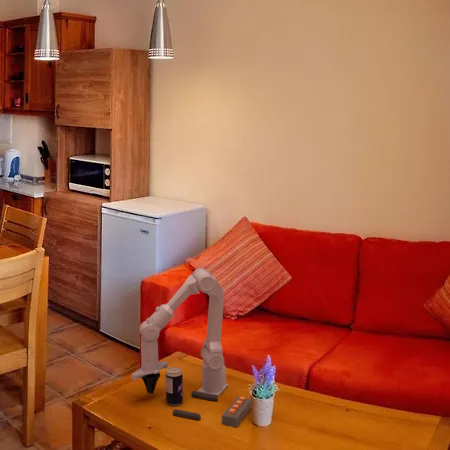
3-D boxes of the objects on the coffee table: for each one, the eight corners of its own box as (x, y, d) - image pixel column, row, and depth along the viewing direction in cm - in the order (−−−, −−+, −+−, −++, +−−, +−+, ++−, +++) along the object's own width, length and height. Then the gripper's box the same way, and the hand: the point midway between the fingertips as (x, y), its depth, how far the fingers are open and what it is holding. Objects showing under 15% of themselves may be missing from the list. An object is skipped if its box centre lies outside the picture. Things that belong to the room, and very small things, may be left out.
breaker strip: (237, 404, 208) (238, 393, 208) (251, 407, 206) (251, 395, 206) (221, 424, 196) (221, 412, 195) (236, 427, 194) (236, 415, 193)
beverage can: (180, 407, 206) (179, 374, 204) (164, 406, 208) (163, 372, 205) (184, 399, 212) (184, 367, 210) (168, 398, 213) (168, 365, 211)
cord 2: (192, 394, 216) (192, 389, 215) (218, 400, 212) (218, 394, 212) (190, 397, 214) (190, 392, 214) (216, 402, 210) (216, 397, 210)
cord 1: (174, 413, 203) (174, 407, 203) (201, 418, 199) (201, 413, 199) (171, 415, 201) (171, 410, 201) (199, 421, 198) (199, 415, 197)
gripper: (140, 365, 202) (141, 403, 205) (173, 353, 213) (174, 389, 215) (127, 359, 207) (128, 397, 210) (160, 347, 217) (160, 383, 220)
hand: (150, 392), depth 213 cm, fingers closed
